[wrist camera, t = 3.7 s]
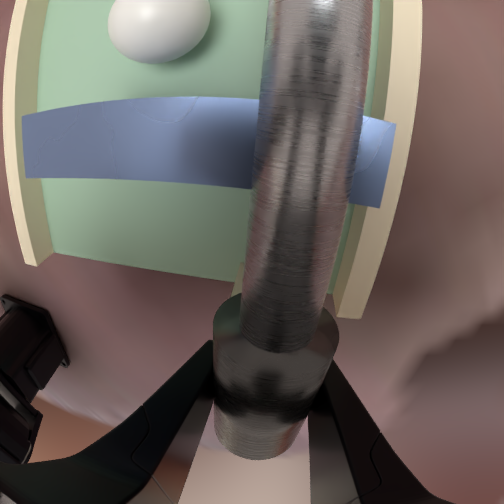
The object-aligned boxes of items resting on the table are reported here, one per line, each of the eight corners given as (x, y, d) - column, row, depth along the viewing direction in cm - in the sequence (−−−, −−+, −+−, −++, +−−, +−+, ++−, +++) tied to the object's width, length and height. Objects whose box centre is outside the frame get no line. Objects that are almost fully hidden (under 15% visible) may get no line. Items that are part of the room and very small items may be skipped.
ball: (133, 71, 9) (81, 66, 6) (141, -2, 7) (96, -26, 4) (216, 67, 8) (186, 52, 6) (225, -11, 7) (201, -49, 4)
